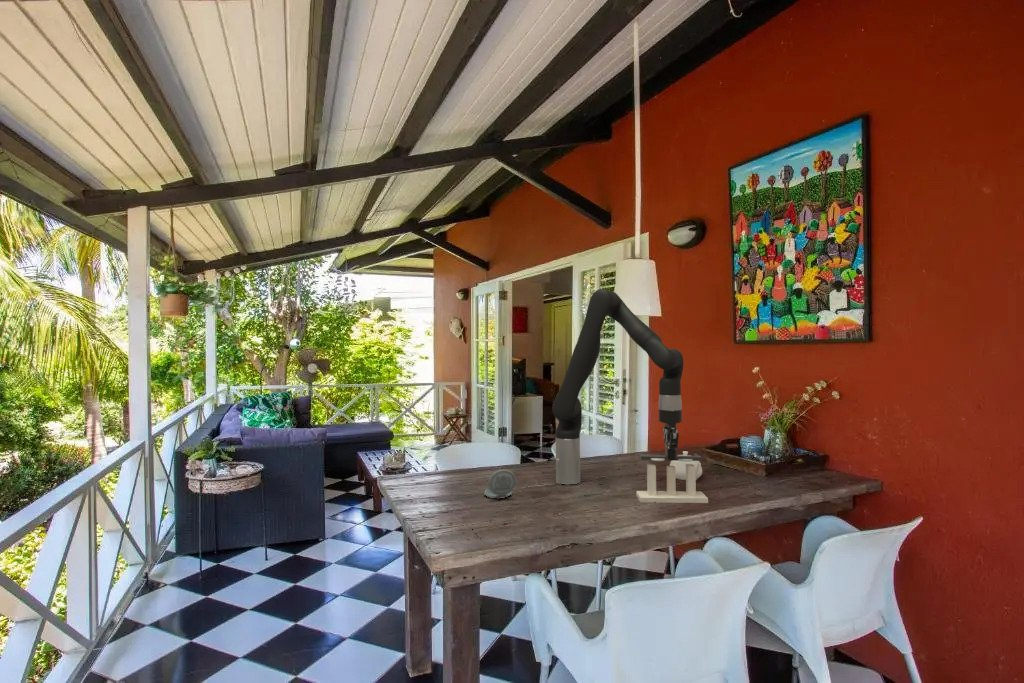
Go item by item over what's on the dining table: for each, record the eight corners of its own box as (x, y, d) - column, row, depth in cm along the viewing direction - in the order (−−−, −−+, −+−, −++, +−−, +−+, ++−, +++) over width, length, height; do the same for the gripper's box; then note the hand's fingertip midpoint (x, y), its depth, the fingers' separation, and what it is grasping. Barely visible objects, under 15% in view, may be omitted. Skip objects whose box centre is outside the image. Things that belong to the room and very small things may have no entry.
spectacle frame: (642, 460, 177) (642, 445, 177) (637, 455, 185) (637, 440, 185) (703, 461, 175) (703, 446, 175) (696, 456, 184) (696, 441, 184)
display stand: (640, 502, 175) (639, 467, 175) (636, 495, 183) (635, 462, 183) (708, 502, 174) (707, 468, 174) (701, 495, 182) (700, 462, 182)
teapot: (715, 483, 197) (715, 456, 197) (685, 485, 194) (685, 458, 194) (687, 470, 217) (686, 445, 217) (659, 472, 214) (658, 447, 214)
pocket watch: (488, 470, 177) (480, 461, 191) (488, 503, 177) (480, 491, 191) (517, 468, 179) (506, 459, 194) (517, 500, 179) (507, 488, 194)
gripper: (654, 405, 186) (655, 454, 186) (663, 410, 172) (663, 463, 172) (676, 405, 185) (677, 454, 185) (686, 410, 171) (687, 464, 171)
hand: (670, 458), depth 178 cm, fingers closed on spectacle frame, 3 cm apart
